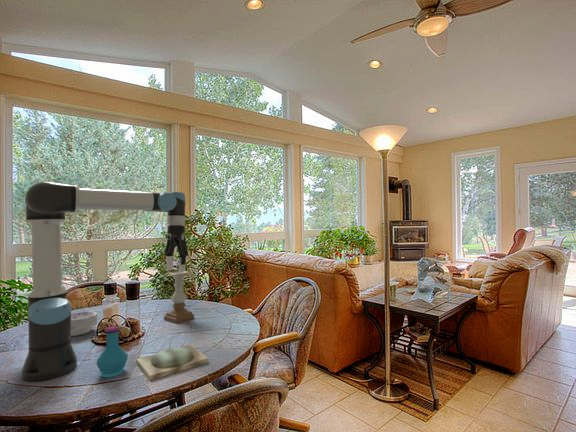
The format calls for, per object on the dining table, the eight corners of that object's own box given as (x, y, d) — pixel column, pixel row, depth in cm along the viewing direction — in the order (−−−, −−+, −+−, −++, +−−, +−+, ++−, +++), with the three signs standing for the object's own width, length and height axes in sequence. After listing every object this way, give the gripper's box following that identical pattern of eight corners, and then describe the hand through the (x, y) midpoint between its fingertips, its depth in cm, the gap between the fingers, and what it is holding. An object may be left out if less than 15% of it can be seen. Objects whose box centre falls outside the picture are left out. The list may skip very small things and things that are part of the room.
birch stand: (150, 380, 102) (150, 372, 102) (136, 363, 115) (136, 356, 115) (208, 362, 115) (208, 355, 115) (190, 348, 127) (190, 342, 127)
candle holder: (175, 323, 158) (175, 275, 158) (163, 319, 165) (163, 272, 165) (194, 317, 167) (194, 272, 167) (182, 314, 174) (181, 270, 174)
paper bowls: (89, 324, 157) (89, 308, 157) (102, 331, 147) (102, 314, 147) (52, 333, 145) (52, 316, 145) (63, 341, 136) (63, 322, 136)
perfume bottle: (98, 369, 110) (98, 325, 110) (128, 364, 114) (128, 321, 114) (94, 381, 102) (94, 334, 102) (127, 375, 106) (127, 329, 106)
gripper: (196, 224, 144) (195, 272, 142) (172, 226, 162) (172, 268, 160) (180, 223, 139) (179, 273, 137) (158, 225, 157) (156, 269, 155)
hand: (175, 271), depth 149 cm, fingers open, 13 cm apart
